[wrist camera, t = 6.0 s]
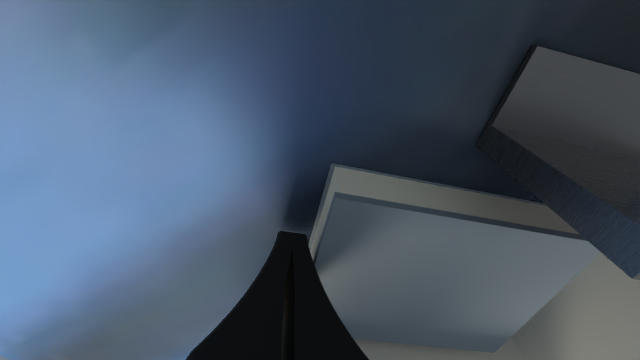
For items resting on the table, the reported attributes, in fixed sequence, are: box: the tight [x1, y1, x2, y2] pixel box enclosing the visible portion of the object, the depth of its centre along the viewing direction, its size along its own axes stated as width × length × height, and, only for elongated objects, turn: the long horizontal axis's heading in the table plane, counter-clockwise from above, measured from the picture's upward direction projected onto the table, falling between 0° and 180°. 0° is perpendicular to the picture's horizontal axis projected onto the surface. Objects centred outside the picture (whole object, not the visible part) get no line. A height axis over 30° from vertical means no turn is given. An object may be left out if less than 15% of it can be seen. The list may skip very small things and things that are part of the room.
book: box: [308, 163, 601, 353], centre depth 15 cm, size 9×12×3 cm
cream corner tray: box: [354, 253, 640, 360], centre depth 13 cm, size 14×15×6 cm
